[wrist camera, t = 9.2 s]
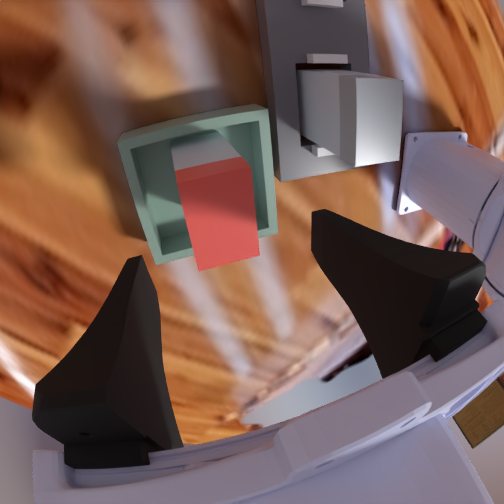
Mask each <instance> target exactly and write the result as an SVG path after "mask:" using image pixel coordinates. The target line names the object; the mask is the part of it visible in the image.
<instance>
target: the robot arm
mask: <svg viewBox="0 0 504 504" xmlns="http://www.w3.org/2000/svg"><path fill="white" fill-rule="evenodd" d="M414 137H415V138H414ZM420 209H423V210H424V211H426V212H427V213H428V214H430V215H431V216H432V217H434V218H435V219H436V220H438V221H439V222H440V223H441V224H443V225H444V226H445V227H447V228H448V229H449V230H450V231H452V232H453V233H454V234H455V235H456V236H458V237H459V238H460V239H461V240H463V241H464V242H465V243H466V244H467V245H468V246H470V247H471V248H472V249H473V253H462V252H452V251H445V250H439V249H434V248H429V247H424V246H420V245H416V244H412V243H409V242H405V241H402V240H399V239H396V238H393V237H390V236H387V235H385V234H382V233H380V232H377V231H375V230H372V229H370V228H368V227H365V226H363V225H361V224H359V223H356V222H354V221H352V220H350V219H347V218H345V217H343V216H341V215H339V214H336V213H334V212H331V211H329V210H326V209H322V210H318V211H313V212H312V231H311V251H312V253H313V255H314V257H315V259H316V261H317V262H318V264H319V266H320V268H321V269H322V271H323V272H324V274H325V275H326V276H327V278H328V279H329V280H330V282H331V283H332V284H333V286H334V287H335V289H336V290H337V291H338V293H339V294H340V295H341V297H342V298H343V300H344V301H345V302H346V304H347V305H348V307H349V308H350V310H351V311H352V313H353V315H354V317H355V319H356V320H357V322H358V324H359V326H360V328H361V330H362V332H363V334H364V336H365V338H366V340H367V342H368V344H369V346H370V349H371V351H372V353H373V355H374V358H375V360H376V362H377V365H378V368H379V370H380V373H381V375H382V378H383V379H382V380H380V381H378V382H376V383H374V384H372V385H370V386H368V387H365V388H363V389H361V390H359V391H357V392H355V393H352V394H350V395H348V396H346V397H343V398H341V399H339V400H336V401H334V402H331V403H329V404H327V405H324V406H321V407H319V408H316V409H314V410H311V411H309V412H307V413H305V414H303V415H300V416H298V417H295V418H292V419H289V420H286V421H284V422H280V423H277V424H274V425H271V426H268V427H264V428H261V429H258V430H254V431H251V432H247V433H244V434H240V435H236V436H233V437H229V438H225V439H220V440H216V441H212V442H207V443H203V444H198V445H194V446H189V447H184V446H183V443H182V440H181V437H180V434H179V430H178V427H177V424H176V420H175V416H174V413H173V409H172V405H171V401H170V397H169V392H168V388H167V383H166V378H165V373H164V367H163V359H162V342H161V321H160V309H159V302H158V296H157V291H156V289H155V287H154V284H153V282H152V279H151V277H150V275H149V272H148V270H147V267H146V265H145V262H144V260H143V257H142V255H140V256H136V257H132V258H129V259H127V261H126V263H125V265H124V267H123V268H122V270H121V272H120V274H119V276H118V278H117V280H116V282H115V284H114V286H113V288H112V290H111V292H110V294H109V295H108V297H107V299H106V301H105V302H104V304H103V306H102V308H101V309H100V311H99V313H98V314H97V316H96V317H95V319H94V320H93V322H92V323H91V325H90V326H89V327H88V329H87V330H86V332H85V333H84V334H83V335H82V337H81V338H80V339H79V340H78V342H77V343H76V344H75V345H74V347H73V348H72V349H71V350H70V351H69V352H68V354H67V355H66V356H65V357H64V358H63V359H62V360H61V361H60V362H59V363H58V364H57V365H56V366H55V367H54V368H53V369H52V370H51V371H50V372H49V373H48V374H47V375H46V376H45V377H43V378H42V379H41V380H40V381H39V382H38V383H37V384H36V386H35V393H34V402H33V411H32V419H33V421H34V423H35V424H36V425H37V426H38V428H40V429H41V430H42V431H43V432H45V433H47V434H48V435H50V436H51V437H53V438H55V439H56V440H57V441H59V442H61V443H62V444H64V452H61V451H57V450H33V488H34V489H33V490H34V504H494V503H493V501H492V499H491V497H490V495H489V494H488V492H487V490H486V488H485V486H484V484H483V482H482V481H481V479H480V477H479V475H478V473H477V472H476V470H475V468H474V466H473V465H472V463H471V461H470V459H469V458H468V456H467V455H466V453H465V451H464V449H463V448H462V446H461V444H460V443H459V441H458V439H457V438H456V436H455V434H454V433H453V431H452V430H451V428H450V427H449V425H448V423H447V420H448V419H450V418H451V417H452V416H453V415H455V414H456V413H457V412H459V411H460V410H461V409H462V408H463V407H465V406H466V405H467V404H468V403H469V402H471V401H472V400H473V399H474V398H475V397H476V396H478V395H479V394H480V393H481V392H482V391H483V390H484V389H485V388H487V387H488V386H489V385H490V384H491V383H492V382H493V381H494V380H495V379H496V378H497V377H498V376H499V375H500V374H502V373H503V372H504V162H503V161H502V160H500V159H498V158H496V157H494V156H493V155H491V154H489V153H487V152H485V151H483V150H481V149H479V148H477V147H475V146H473V145H471V144H469V143H467V133H465V132H463V131H458V132H417V133H408V134H407V135H406V136H405V145H404V156H403V166H402V174H401V182H400V190H399V197H398V203H397V213H398V214H400V215H402V214H405V213H409V212H413V211H416V210H420ZM481 286H482V287H483V289H484V290H485V292H486V293H487V294H488V296H489V297H490V298H491V299H492V300H493V301H495V302H494V303H493V304H491V305H490V306H489V307H487V308H486V309H485V310H484V311H483V312H482V314H481V313H480V312H479V311H478V310H477V309H478V308H479V303H478V302H477V301H476V300H475V298H476V296H477V294H478V292H479V290H480V288H481Z"/></svg>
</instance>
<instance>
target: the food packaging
mask: <svg viewBox="0 0 504 504" xmlns="http://www.w3.org/2000/svg"><path fill="white" fill-rule="evenodd" d="M452 417H453V419H454V420H455V422H456V424H457V425H458V427H459V428H460V430H461V431H462V433H463V435H464V436H465V438H466V439H467V441H468V442H469V444H470V445H471V447H472V448H473V449H474V448H475V447H476V446H478V445H479V444H481V443H482V442H483V441H485V440H486V439H487V438H489V437H490V436H491V435H492V434H494V433H495V432H496V431H497V430H498V429H500V428H501V427H502V426H503V425H504V372H503V373H502V374H500V375H499V376H498V377H497V378H496V379H495V380H494V381H493V382H492V383H491V384H490V385H489V386H488V387H487V388H485V389H484V390H483V391H482V392H481V393H480V394H479V395H478V396H476V397H475V398H474V399H473V400H472V401H471V402H469V403H468V404H467V405H466V406H465V407H463V408H462V409H461V410H460V411H459V412H457V413H456V414H455V415H453V416H452Z"/></svg>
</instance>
